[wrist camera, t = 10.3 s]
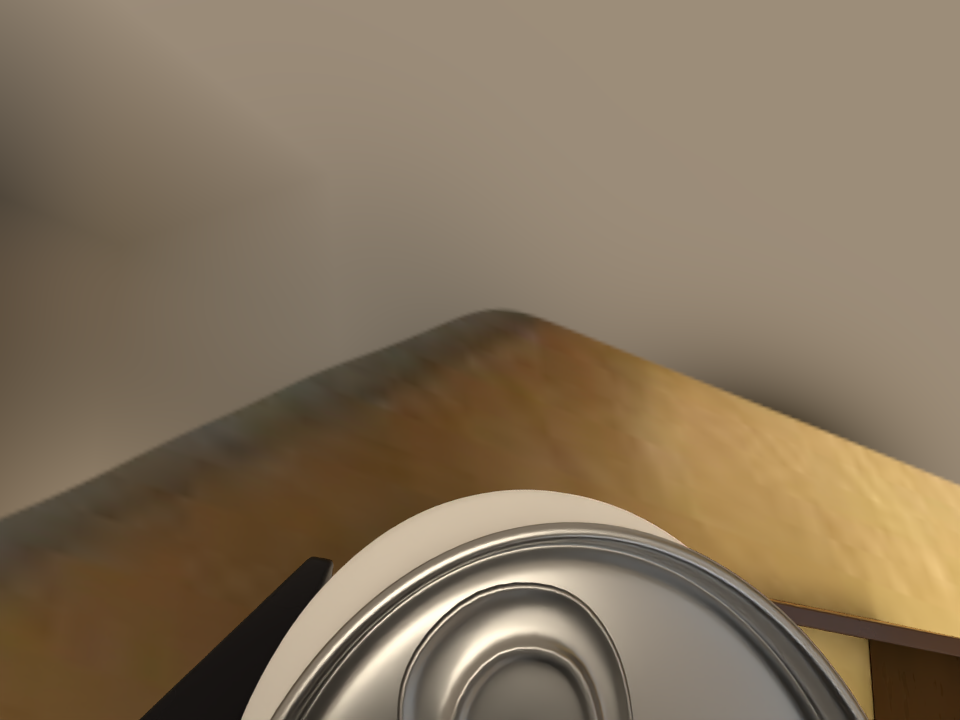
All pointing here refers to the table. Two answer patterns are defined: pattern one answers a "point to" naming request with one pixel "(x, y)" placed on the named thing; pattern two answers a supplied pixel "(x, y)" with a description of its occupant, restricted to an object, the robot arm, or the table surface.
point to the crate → (897, 663)
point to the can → (543, 627)
